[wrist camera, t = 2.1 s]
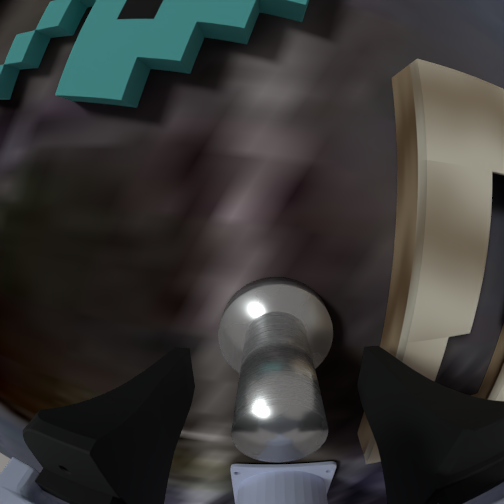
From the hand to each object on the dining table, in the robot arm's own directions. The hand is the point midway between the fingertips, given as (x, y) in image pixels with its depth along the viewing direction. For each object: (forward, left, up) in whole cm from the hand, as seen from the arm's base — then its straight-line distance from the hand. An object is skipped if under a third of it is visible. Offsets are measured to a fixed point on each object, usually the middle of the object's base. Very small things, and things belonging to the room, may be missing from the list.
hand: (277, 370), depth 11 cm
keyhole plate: (+2, -12, -4) cm, 13 cm away
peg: (0, 0, -4) cm, 4 cm away
